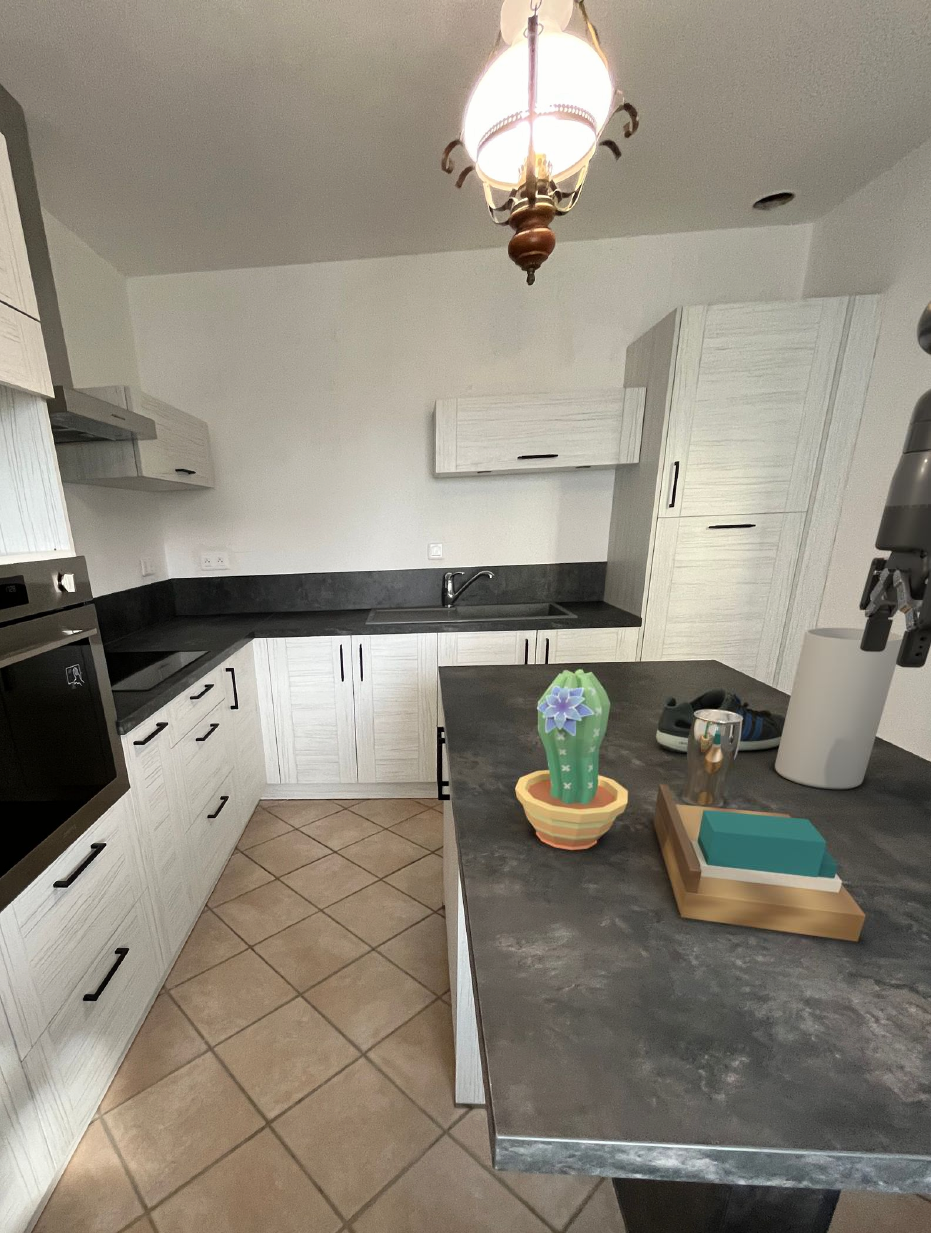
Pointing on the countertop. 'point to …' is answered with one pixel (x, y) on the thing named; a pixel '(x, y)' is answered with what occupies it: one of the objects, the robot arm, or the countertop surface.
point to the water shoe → (756, 725)
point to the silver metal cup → (711, 755)
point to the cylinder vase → (835, 708)
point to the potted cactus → (572, 766)
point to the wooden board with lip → (744, 885)
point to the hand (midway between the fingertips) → (889, 658)
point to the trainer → (765, 851)
